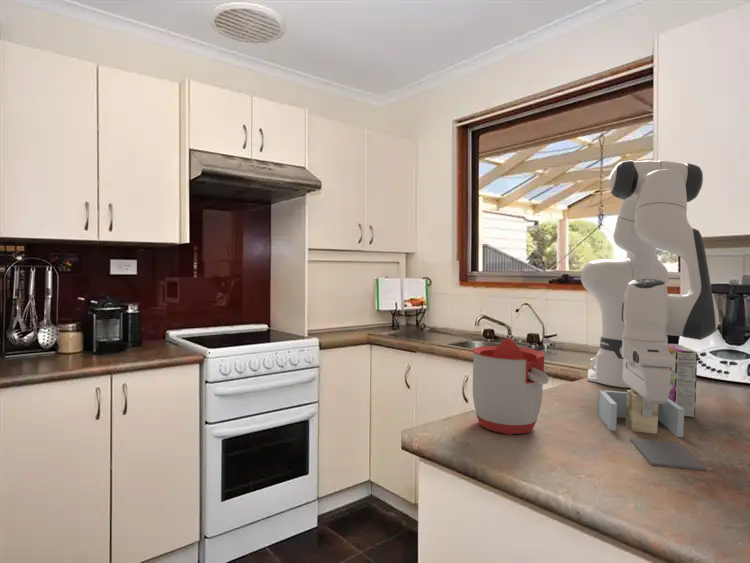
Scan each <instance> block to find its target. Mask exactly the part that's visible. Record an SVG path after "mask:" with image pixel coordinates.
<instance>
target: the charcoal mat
mask: <svg viewBox="0 0 750 563" xmlns="http://www.w3.org/2000/svg"><path fill="white" fill-rule="evenodd" d="M629 440H630V441H632V442H631V443H632V444H633V445H634V446H635V448H636V449H637V450H638V451H639V453H640V454H641V455H642V456H643V457H644V459H645V460H646V461H647V463H649V465H651V466H659V467H667V468H679V469H685V470H686V469H687V470H696V471H704V472H706V471H707V468H706V467H705V466H704V464H703V463H701V461H700V460H698V459H697V458H696V457H695V456H694V455H693V454H691V452H689V451H688V450H687V449H686V448H685V447H684V446H683V445H682V444H680V443H679V442H675V441H665V440H656V439H644V438H635V437H633V438H632V437H629Z"/></svg>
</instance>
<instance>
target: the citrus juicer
mask: <svg viewBox="0 0 750 563" xmlns="http://www.w3.org/2000/svg"><path fill="white" fill-rule="evenodd" d="M472 353H473V354H472V355H473V358H472V360H473V362H472V399H473V400H472V401H473V405H474V409H475V414H476V418H477V421H478V422H479V425H480V426H482V427H483V428H485V429H487V430H489V431H492V432H495V433H500V434H501V433H502V434H504V435H507V436H510V435H511V436H512V435H514V434H515V435H516V434H517V435H518V434H519V435H520V434H526V433H529V432H531V431H532V430H533V429H534V427H535V425H536V423H537V421H538V416H539V413H540V411H541V406H542V402H543V386H544V385H546V384H548V383H549V376H548V375H547V373H546V372H545V356H546V355H545V353H544V352H543V351H539V350H537V349H532V348H527V347H520V346H518V345H517V344H516V342H515V341H514V340H512V339H511V338H509V337H507V338H505V339H503V340H502V341H501V342H500V344H499V345H483V346H476V347H474V348H472Z"/></svg>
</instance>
